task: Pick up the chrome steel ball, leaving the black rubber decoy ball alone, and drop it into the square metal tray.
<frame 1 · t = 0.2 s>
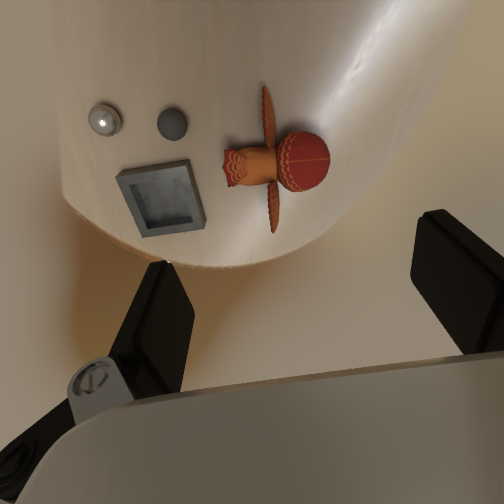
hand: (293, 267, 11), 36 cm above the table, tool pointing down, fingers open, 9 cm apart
steel ball: (104, 121, 40), point 2 cm above the table
square metal tray: (166, 196, 48), on the table
figurine: (268, 151, 45), on the table
decoy ball: (172, 125, 40), point 2 cm above the table
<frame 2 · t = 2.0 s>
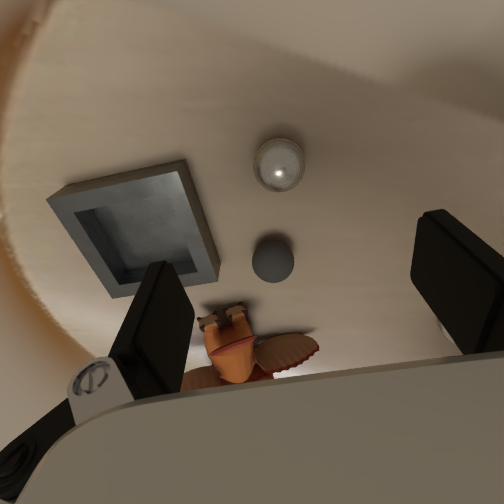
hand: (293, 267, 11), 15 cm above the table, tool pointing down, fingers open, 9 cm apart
steel ball: (279, 165, 22), point 2 cm above the table
square metal tray: (150, 227, 28), on the table
figurine: (242, 334, 37), on the table
decoy ball: (273, 261, 27), point 2 cm above the table
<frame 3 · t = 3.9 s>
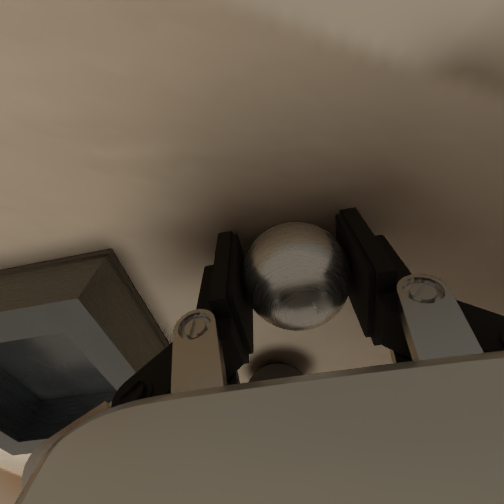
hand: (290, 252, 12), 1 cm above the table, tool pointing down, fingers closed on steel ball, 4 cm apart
steel ball: (295, 275, 11), point 2 cm above the table, touching gripper
square metal tray: (68, 345, 16), on the table
decoy ball: (279, 401, 16), point 2 cm above the table
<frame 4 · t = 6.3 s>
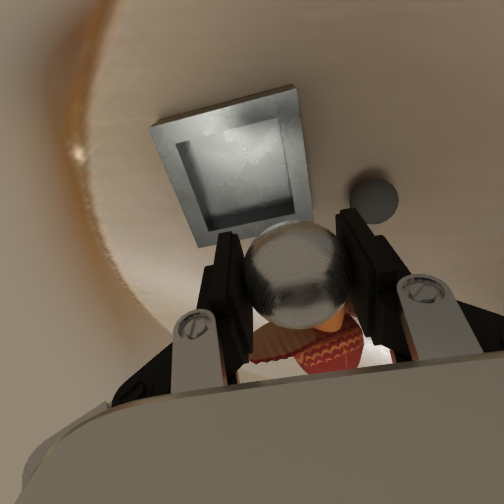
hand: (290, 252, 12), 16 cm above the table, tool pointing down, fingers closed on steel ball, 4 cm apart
steel ball: (295, 273, 11), point 17 cm above the table, touching gripper
square metal tray: (240, 168, 26), on the table
figurine: (323, 287, 35), on the table
decoy ball: (373, 201, 26), point 2 cm above the table
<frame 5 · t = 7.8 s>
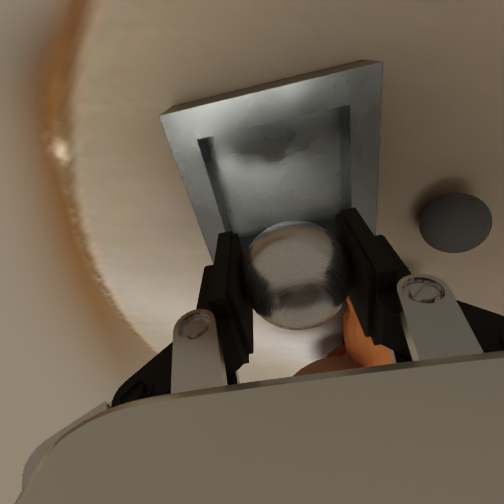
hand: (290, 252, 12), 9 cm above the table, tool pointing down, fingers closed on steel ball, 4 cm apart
steel ball: (294, 274, 11), point 11 cm above the table, touching gripper
square metal tray: (278, 175, 19), on the table
figurine: (368, 317, 28), on the table
decoy ball: (453, 223, 19), point 2 cm above the table
when the fingers open (4 cm above the table, at t = 9.1 s): steel ball drops 3 cm, resting on square metal tray.
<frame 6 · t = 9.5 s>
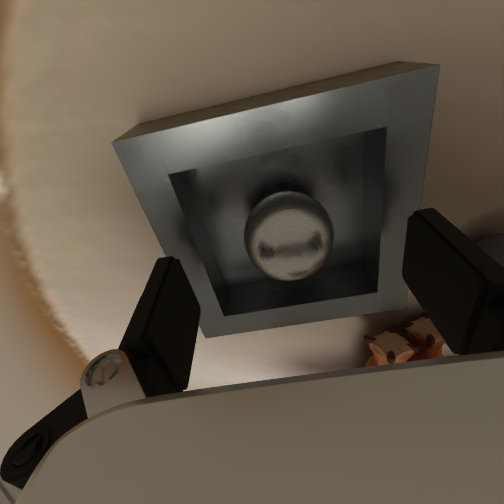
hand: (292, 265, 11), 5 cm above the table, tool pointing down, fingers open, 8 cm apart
steel ball: (287, 236, 13), point 3 cm above the table, touching square metal tray
square metal tray: (281, 210, 15), on the table
figurine: (391, 361, 23), on the table
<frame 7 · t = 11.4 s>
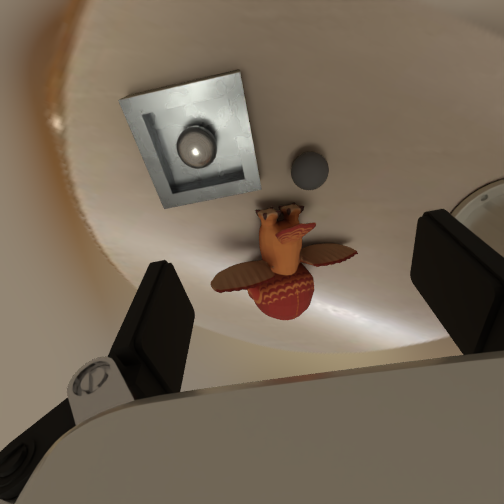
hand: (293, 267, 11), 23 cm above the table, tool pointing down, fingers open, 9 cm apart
steel ball: (197, 147, 28), point 3 cm above the table, touching square metal tray
square metal tray: (200, 140, 31), on the table
figurine: (283, 241, 39), on the table
decoy ball: (309, 171, 31), point 2 cm above the table
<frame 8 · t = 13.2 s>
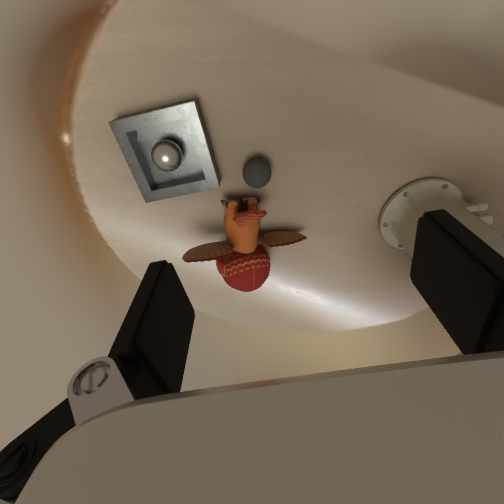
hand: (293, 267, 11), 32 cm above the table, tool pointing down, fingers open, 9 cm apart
steel ball: (167, 155, 38), point 3 cm above the table, tilted 6°, touching square metal tray
square metal tray: (172, 150, 40), on the table
figurine: (248, 228, 48), on the table
decoy ball: (257, 173, 40), point 2 cm above the table
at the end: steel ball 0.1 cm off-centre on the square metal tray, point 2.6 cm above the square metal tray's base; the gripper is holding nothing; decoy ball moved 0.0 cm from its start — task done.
